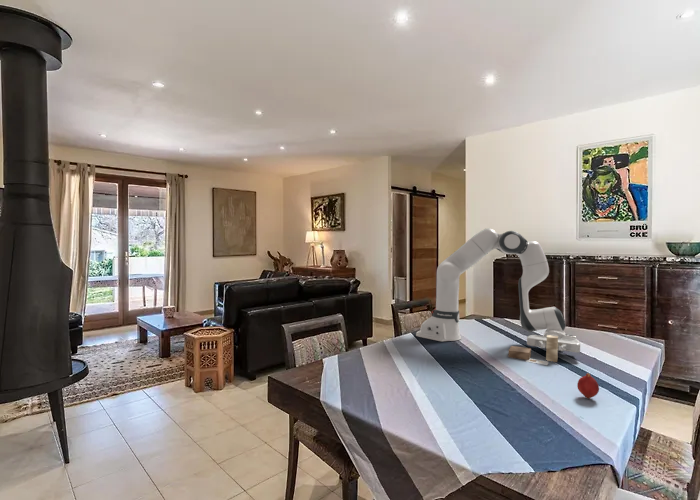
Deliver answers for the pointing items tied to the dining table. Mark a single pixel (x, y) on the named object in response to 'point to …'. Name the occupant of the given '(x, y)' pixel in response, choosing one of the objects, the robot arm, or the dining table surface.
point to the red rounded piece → (588, 386)
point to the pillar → (552, 348)
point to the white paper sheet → (537, 361)
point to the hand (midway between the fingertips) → (551, 347)
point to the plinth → (519, 352)
